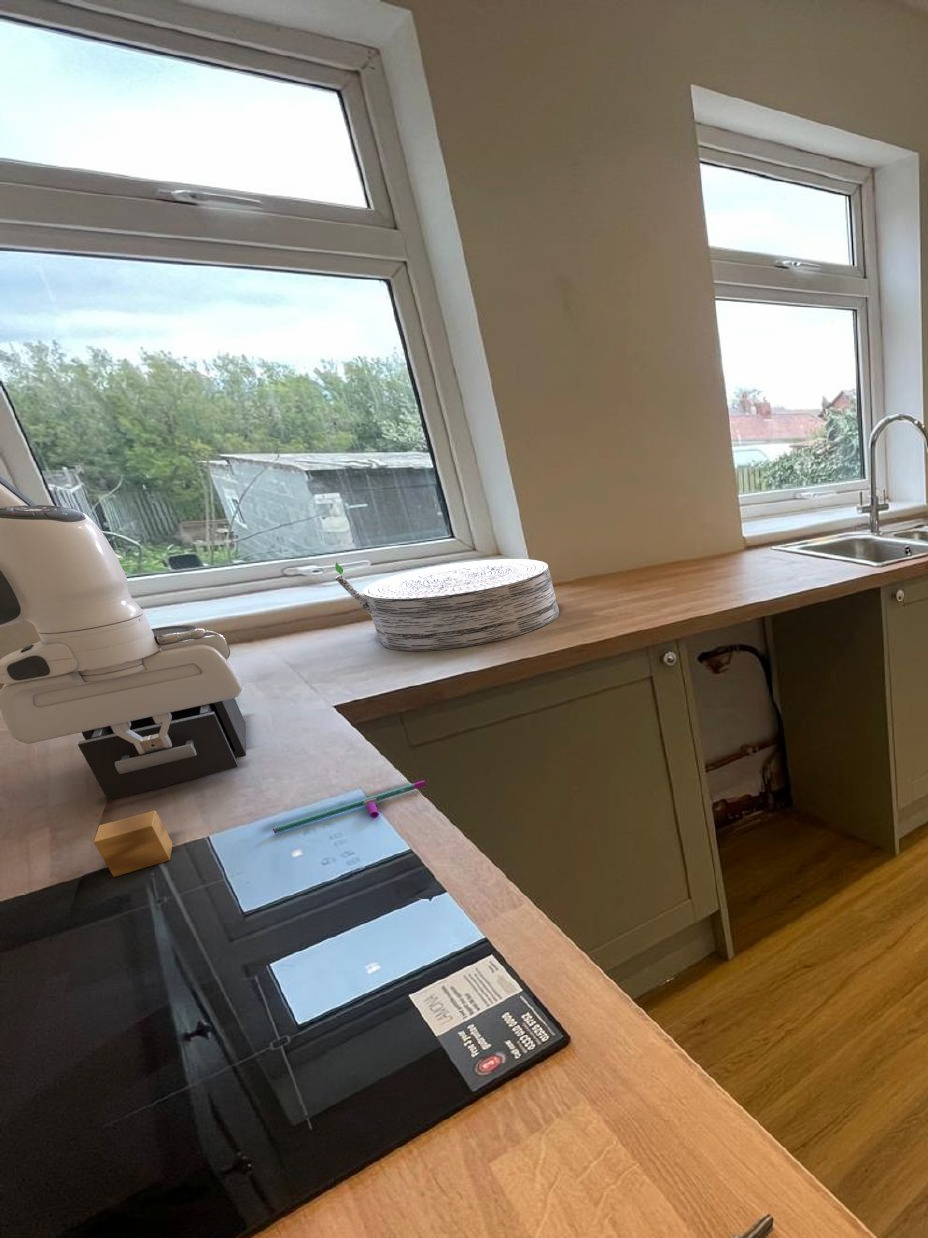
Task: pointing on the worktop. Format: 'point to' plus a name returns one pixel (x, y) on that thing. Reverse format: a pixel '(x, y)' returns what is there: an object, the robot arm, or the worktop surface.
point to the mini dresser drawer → (160, 753)
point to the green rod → (350, 807)
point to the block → (133, 843)
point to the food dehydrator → (459, 603)
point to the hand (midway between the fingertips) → (156, 749)
